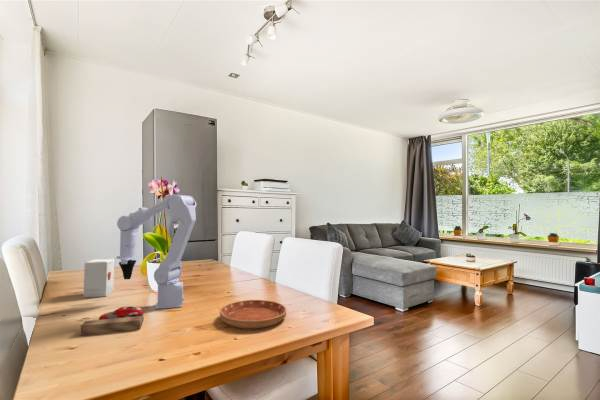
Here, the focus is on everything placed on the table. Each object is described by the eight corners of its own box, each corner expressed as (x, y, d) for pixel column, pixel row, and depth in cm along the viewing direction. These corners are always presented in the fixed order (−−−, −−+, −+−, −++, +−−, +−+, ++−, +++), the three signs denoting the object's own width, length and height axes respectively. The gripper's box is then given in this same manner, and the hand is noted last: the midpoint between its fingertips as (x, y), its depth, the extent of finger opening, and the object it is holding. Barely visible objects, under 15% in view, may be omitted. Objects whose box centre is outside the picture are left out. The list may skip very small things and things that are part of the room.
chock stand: (144, 320, 105) (144, 311, 105) (139, 329, 97) (140, 320, 97) (89, 325, 100) (90, 316, 100) (80, 335, 92) (80, 325, 92)
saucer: (260, 304, 124) (260, 295, 124) (299, 320, 108) (299, 309, 108) (207, 318, 108) (207, 308, 108) (244, 339, 92) (245, 326, 92)
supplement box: (106, 296, 132) (107, 261, 133) (82, 297, 130) (83, 262, 131) (114, 291, 141) (115, 258, 141) (92, 292, 139) (93, 258, 140)
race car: (97, 326, 101) (97, 313, 101) (99, 320, 106) (100, 308, 106) (142, 319, 107) (142, 307, 107) (142, 314, 112) (143, 303, 112)
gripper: (121, 243, 131) (120, 275, 131) (112, 248, 117) (111, 283, 117) (139, 243, 133) (139, 274, 133) (133, 247, 120) (132, 282, 119)
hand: (127, 278), depth 125 cm, fingers closed
